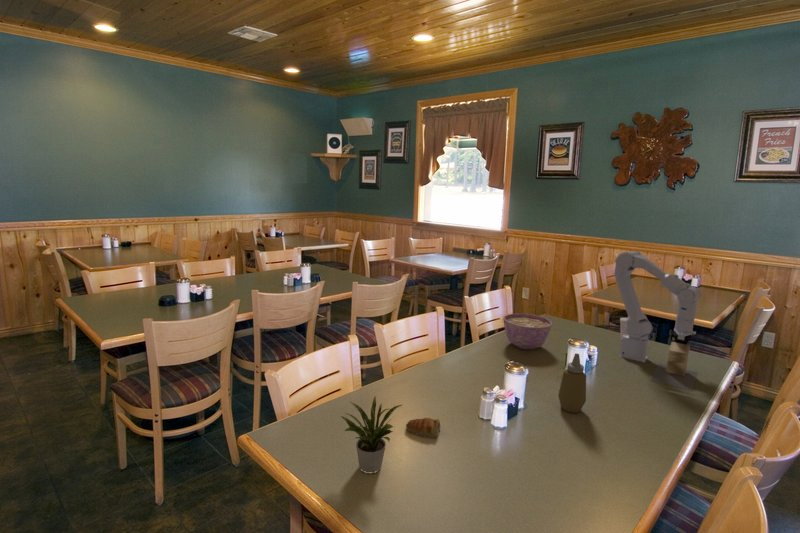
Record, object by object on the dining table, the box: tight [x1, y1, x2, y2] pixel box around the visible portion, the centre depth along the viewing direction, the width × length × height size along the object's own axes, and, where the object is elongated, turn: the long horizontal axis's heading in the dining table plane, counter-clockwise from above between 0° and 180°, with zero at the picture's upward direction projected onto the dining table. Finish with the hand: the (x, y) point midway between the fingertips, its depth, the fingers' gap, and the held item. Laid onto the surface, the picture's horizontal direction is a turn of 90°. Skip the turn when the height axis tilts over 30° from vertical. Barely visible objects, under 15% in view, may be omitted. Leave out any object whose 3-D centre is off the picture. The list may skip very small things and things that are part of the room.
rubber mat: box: [649, 362, 698, 392], centre depth 168 cm, size 13×21×1 cm, turn 144°
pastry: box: [405, 417, 441, 439], centre depth 125 cm, size 9×7×4 cm
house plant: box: [340, 395, 403, 472], centre depth 108 cm, size 14×14×16 cm
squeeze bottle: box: [558, 353, 587, 414], centre depth 140 cm, size 8×8×18 cm
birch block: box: [666, 341, 691, 376], centre depth 170 cm, size 6×6×10 cm
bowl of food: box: [503, 313, 553, 350], centre depth 194 cm, size 20×20×12 cm
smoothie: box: [619, 317, 628, 341], centre depth 207 cm, size 6×6×14 cm
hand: (679, 353), depth 173 cm, fingers closed
